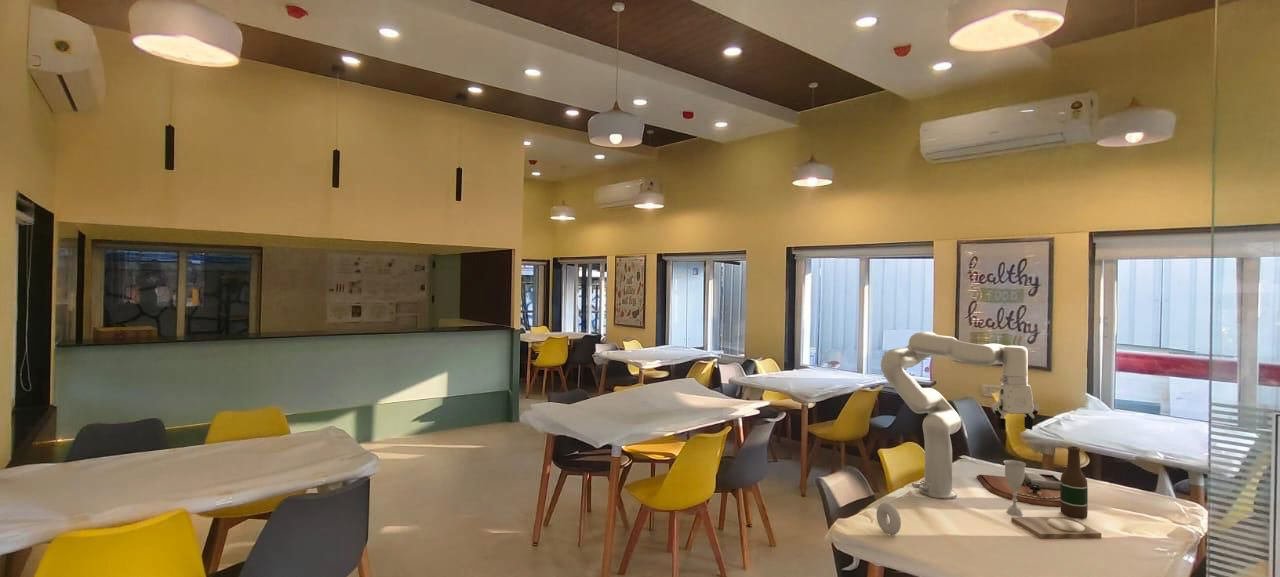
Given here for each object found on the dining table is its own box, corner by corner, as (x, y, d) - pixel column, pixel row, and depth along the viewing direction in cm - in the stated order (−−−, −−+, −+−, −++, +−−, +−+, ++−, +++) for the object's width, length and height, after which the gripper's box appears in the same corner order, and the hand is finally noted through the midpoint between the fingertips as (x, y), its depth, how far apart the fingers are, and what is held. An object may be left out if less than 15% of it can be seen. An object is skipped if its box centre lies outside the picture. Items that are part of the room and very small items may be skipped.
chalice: (1006, 508, 214) (1006, 458, 214) (1028, 513, 209) (1028, 462, 209) (1000, 513, 209) (1000, 462, 209) (1023, 519, 204) (1023, 467, 204)
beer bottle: (1058, 515, 207) (1058, 447, 208) (1062, 509, 213) (1062, 443, 213) (1086, 521, 202) (1086, 451, 202) (1088, 515, 208) (1088, 447, 208)
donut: (903, 539, 187) (903, 508, 187) (894, 540, 186) (894, 509, 186) (883, 527, 196) (883, 497, 196) (874, 528, 195) (874, 498, 195)
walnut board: (1040, 538, 188) (1040, 532, 188) (1011, 521, 202) (1011, 515, 202) (1101, 538, 188) (1101, 531, 188) (1068, 520, 202) (1068, 514, 202)
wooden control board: (1061, 473, 241) (1094, 498, 212) (1061, 486, 241) (1094, 512, 212) (976, 466, 250) (996, 489, 221) (976, 478, 250) (996, 503, 221)
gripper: (998, 382, 205) (998, 431, 205) (1046, 382, 206) (1046, 431, 206) (984, 379, 212) (984, 426, 212) (1031, 379, 213) (1031, 426, 213)
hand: (1015, 428), depth 209 cm, fingers open, 9 cm apart
